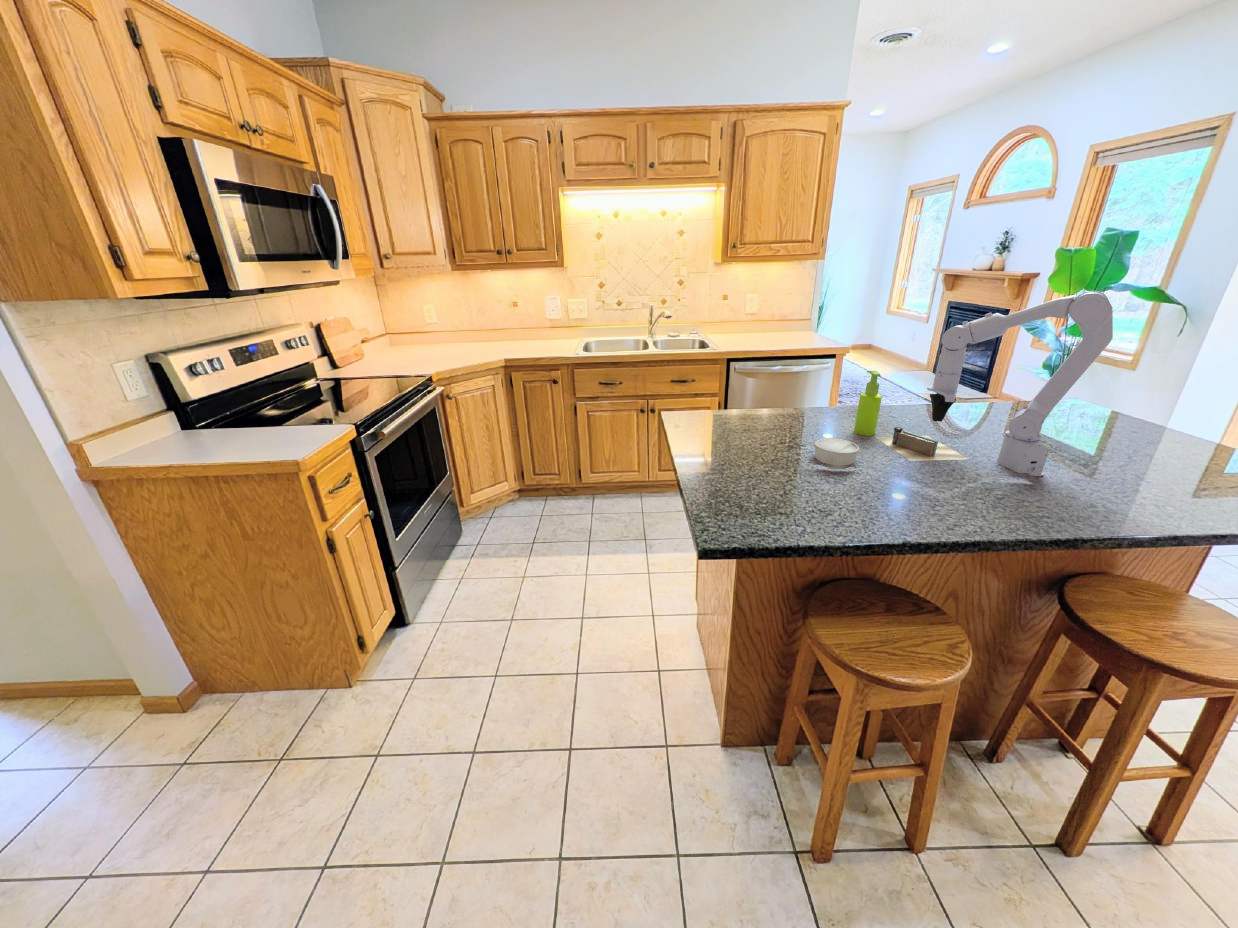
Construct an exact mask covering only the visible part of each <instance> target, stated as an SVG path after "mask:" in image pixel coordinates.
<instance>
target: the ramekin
mask: <svg viewBox="0 0 1238 928" xmlns="http://www.w3.org/2000/svg"><path fill="white" fill-rule="evenodd" d="M813 447H814V456H815V457H814V458H815V459H816V460H817V461H819V462H821V463H823V464H819V465H821V466H822V467H825V468H830V469H834V470H835V469H836V470H845V469H849V468H850V467H851V465H853V464H854V463H855V461H856V459H857V456H858V454H859V452H860V447H859V445H858V444H856V443H855V442H853V441H850V440H846V439H841V438H834V437H832V438H831V437H828V438H825V437H824V438H820V439H817V440H815V441H814V445H813Z"/></svg>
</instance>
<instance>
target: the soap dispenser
mask: <svg viewBox="0 0 1238 928" xmlns="http://www.w3.org/2000/svg"><path fill="white" fill-rule="evenodd" d="M866 373H867V374H868V373H869V374H870V375H871V376H870V381H869V382H867V383H866V387H865V392H862V393H860V394H859V395H860V396H859V401H858V406H857V413H856V416H855V417H856V419H855V423H854V431H853V432H854V433H855V434H856V435H860V436H874V435H876V429H877V424H878V418H879V414H880V409H881V408H880V407H881V403H882V399H883V396H882V395H881V394H879V389H880V383H879V382H877V381H878V377H880V376H881V373H880V372H879V371H877V370H867V371H866Z"/></svg>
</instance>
